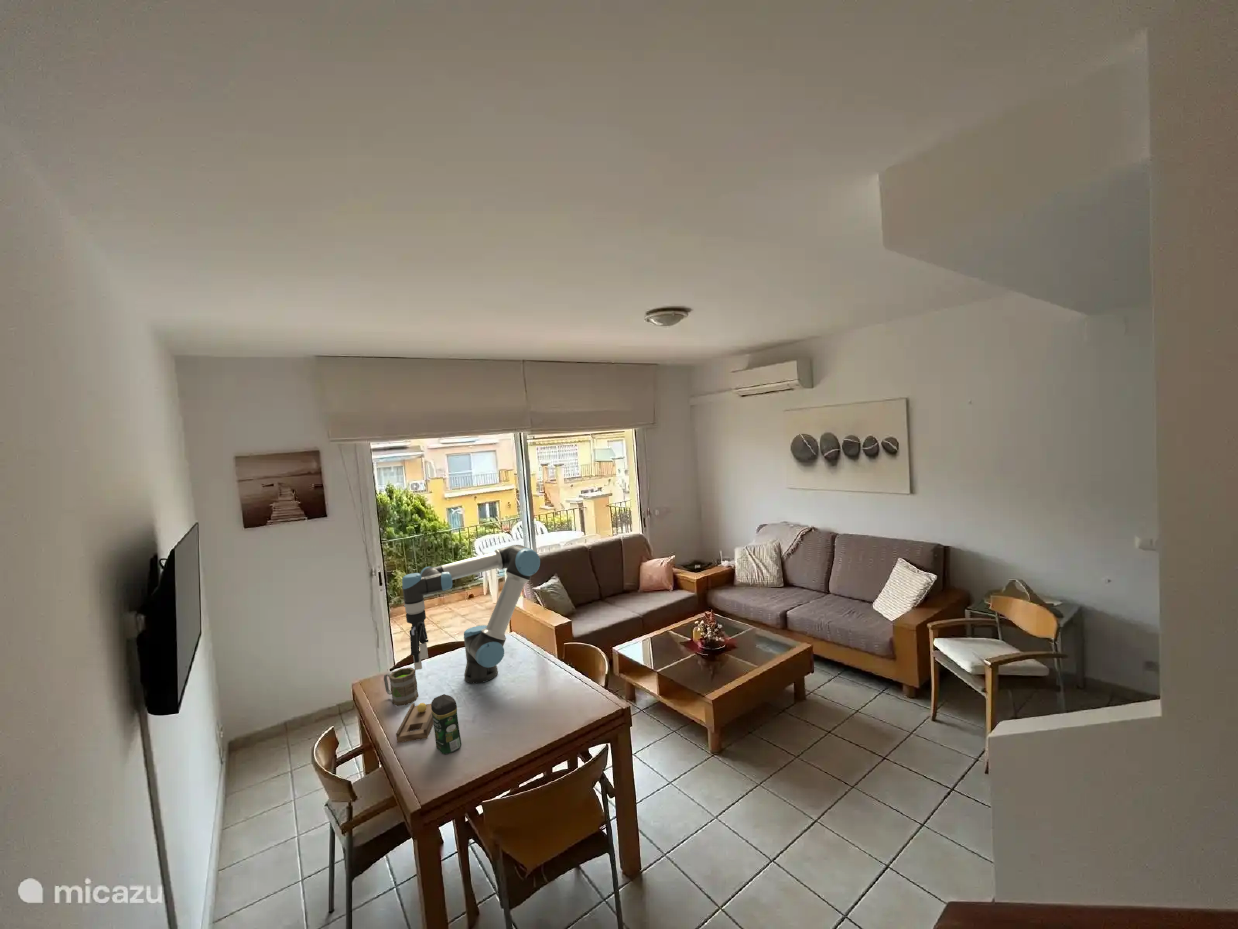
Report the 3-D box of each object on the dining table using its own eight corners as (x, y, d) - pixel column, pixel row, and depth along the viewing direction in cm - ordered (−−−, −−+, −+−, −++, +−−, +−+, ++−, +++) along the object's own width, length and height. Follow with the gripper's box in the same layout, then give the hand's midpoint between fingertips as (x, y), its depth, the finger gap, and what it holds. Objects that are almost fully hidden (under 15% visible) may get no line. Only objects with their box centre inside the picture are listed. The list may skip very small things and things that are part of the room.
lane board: (440, 708, 219) (439, 699, 219) (427, 738, 197) (426, 729, 197) (413, 711, 218) (412, 703, 218) (397, 743, 196) (395, 734, 196)
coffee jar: (433, 747, 192) (427, 698, 190) (453, 737, 197) (448, 689, 195) (443, 758, 184) (437, 707, 183) (464, 748, 189) (458, 698, 188)
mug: (424, 694, 232) (420, 668, 232) (406, 707, 222) (403, 680, 221) (395, 691, 238) (392, 665, 237) (377, 704, 227) (374, 677, 227)
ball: (427, 709, 214) (426, 700, 214) (425, 713, 211) (424, 705, 211) (418, 710, 214) (417, 701, 214) (416, 715, 211) (415, 706, 210)
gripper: (413, 603, 227) (419, 653, 229) (397, 622, 205) (404, 677, 207) (431, 601, 228) (437, 651, 230) (417, 619, 206) (424, 674, 208)
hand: (421, 663), depth 218 cm, fingers open, 9 cm apart
